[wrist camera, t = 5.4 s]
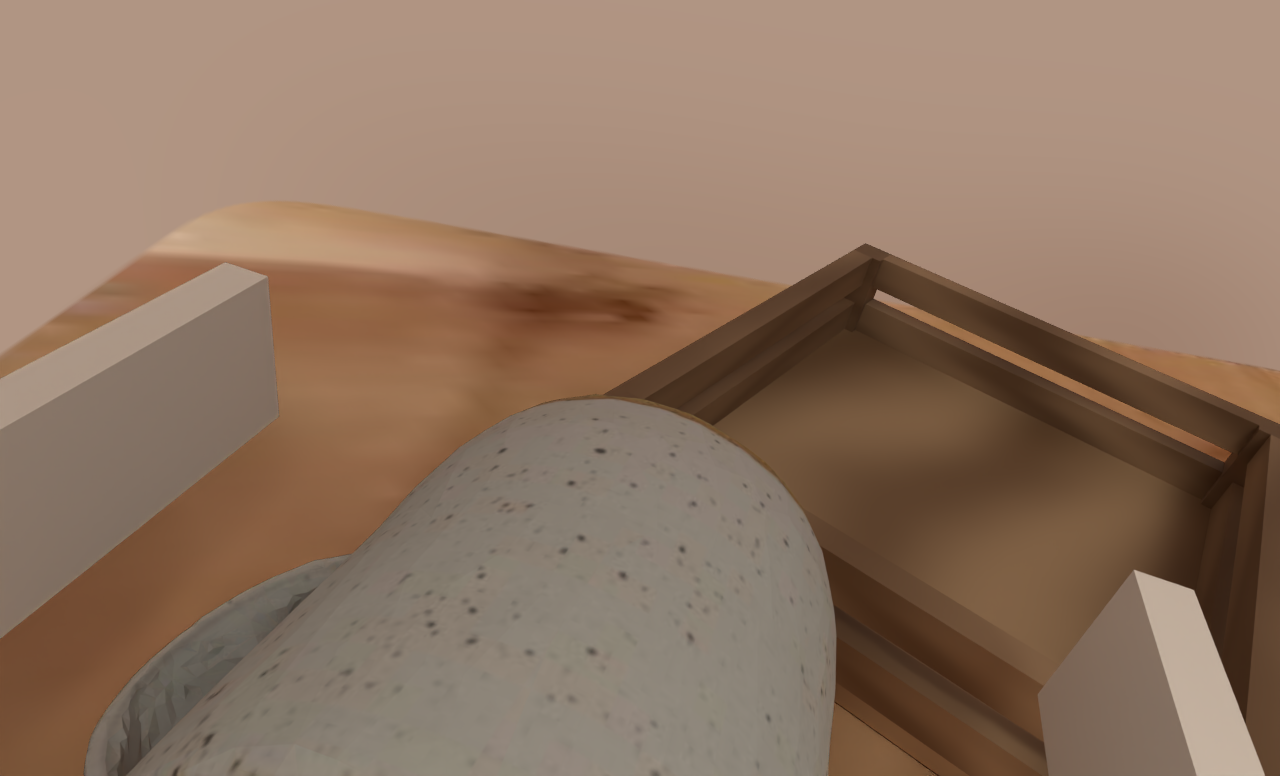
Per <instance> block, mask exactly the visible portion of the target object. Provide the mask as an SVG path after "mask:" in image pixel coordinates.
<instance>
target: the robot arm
mask: <svg viewBox="0 0 1280 776" xmlns="http://www.w3.org/2000/svg"><path fill="white" fill-rule="evenodd" d="M278 417H279V407H278V395H277V382H276V370H275V358H274V345H273V333H272V320H271V308H270V296H269V283H268V276H265V275H262V274H259V273H256V272H253V271H250V270H247V269H244V268H241V267H238V266H235V265H233V264H230V263H227V262H225V263H223V264H221V265H219V266H217V267H215V268H213V269H211V270H209V271H207V272H205V273H203V274H201V275H200V276H198V277H196V278H194V279H192V280H190V281H188V282H186V283H184V284H182V285H180V286H178V287H176V288H174V289H172V290H171V291H169V292H167V293H165V294H163V295H161V296H159V297H157V298H155V299H153V300H151V301H149V302H147V303H145V304H143V305H142V306H140V307H138V308H136V309H134V310H132V311H130V312H128V313H126V314H124V315H122V316H120V317H118V318H116V319H114V320H113V321H111V322H109V323H107V324H105V325H103V326H101V327H99V328H97V329H95V330H93V331H91V332H89V333H87V334H85V335H84V336H82V337H80V338H78V339H76V340H74V341H72V342H70V343H68V344H66V345H64V346H62V347H60V348H58V349H56V350H55V351H53V352H51V353H49V354H47V355H45V356H43V357H41V358H39V359H37V360H35V361H33V362H31V363H29V364H27V365H26V366H24V367H22V368H20V369H18V370H16V371H14V372H12V373H10V374H8V375H6V376H4V377H2V378H0V639H1V638H2V637H3V636H5V635H6V634H7V633H8V632H10V631H11V630H12V629H13V628H15V627H16V626H17V625H18V624H20V623H21V622H22V621H23V620H25V619H26V618H27V617H28V616H30V615H31V614H32V613H33V612H35V611H36V610H37V609H38V608H40V607H41V606H42V605H43V604H45V603H46V602H47V601H48V600H50V599H51V598H52V597H53V596H55V595H56V594H57V593H58V592H60V591H61V590H62V589H63V588H65V587H66V586H67V585H68V584H70V583H71V582H72V581H73V580H75V579H76V578H77V577H78V576H80V575H81V574H82V573H83V572H85V571H86V570H87V569H89V568H90V567H91V566H92V565H94V564H95V563H96V562H97V561H99V560H100V559H101V558H102V557H104V556H105V555H106V554H107V553H109V552H110V551H111V550H112V549H114V548H115V547H116V546H117V545H119V544H120V543H121V542H122V541H124V540H125V539H126V538H127V537H129V536H130V535H131V534H132V533H134V532H135V531H136V530H137V529H139V528H140V527H141V526H142V525H144V524H145V523H146V522H147V521H149V520H150V519H151V518H152V517H154V516H155V515H156V514H157V513H159V512H160V511H161V510H162V509H164V508H165V507H166V506H167V505H169V504H170V503H171V502H173V501H174V500H175V499H176V498H178V497H179V496H180V495H181V494H183V493H184V492H185V491H186V490H188V489H189V488H190V487H191V486H193V485H194V484H195V483H196V482H198V481H199V480H200V479H201V478H203V477H204V476H205V475H206V474H208V473H209V472H210V471H211V470H213V469H214V468H215V467H216V466H218V465H219V464H220V463H221V462H223V461H224V460H225V459H226V458H228V457H229V456H230V455H231V454H233V453H234V452H235V451H236V450H238V449H239V448H240V447H241V446H243V445H244V444H245V443H246V442H248V441H249V440H250V439H251V438H253V437H254V436H255V435H257V434H258V433H259V432H260V431H262V430H263V429H264V428H265V427H267V426H268V425H269V424H270V423H272V422H273V421H274V420H275V419H277V418H278ZM1038 701H1039V708H1040V716H1041V723H1042V730H1043V737H1044V745H1045V752H1046V759H1047V767H1048V774H1049V776H1265V774H1264V771H1263V769H1262V766H1261V764H1260V761H1259V758H1258V756H1257V753H1256V750H1255V748H1254V745H1253V743H1252V740H1251V737H1250V735H1249V732H1248V730H1247V727H1246V724H1245V722H1244V719H1243V717H1242V714H1241V711H1240V709H1239V706H1238V704H1237V701H1236V698H1235V696H1234V693H1233V691H1232V688H1231V685H1230V683H1229V680H1228V678H1227V675H1226V672H1225V670H1224V667H1223V665H1222V662H1221V659H1220V657H1219V654H1218V651H1217V649H1216V646H1215V644H1214V641H1213V638H1212V636H1211V633H1210V631H1209V628H1208V625H1207V623H1206V620H1205V618H1204V615H1203V612H1202V610H1201V607H1200V605H1199V602H1198V599H1197V597H1196V594H1195V592H1194V590H1192V589H1189V588H1186V587H1183V586H1180V585H1178V584H1175V583H1172V582H1169V581H1166V580H1163V579H1160V578H1157V577H1154V576H1151V575H1148V574H1145V573H1142V572H1139V571H1136V570H1133V571H1132V573H1131V574H1130V575H1129V577H1128V578H1127V579H1126V580H1125V582H1124V583H1123V584H1122V586H1121V587H1120V588H1119V589H1118V591H1117V592H1116V593H1115V595H1114V596H1113V597H1112V599H1111V600H1110V601H1109V602H1108V604H1107V605H1106V606H1105V608H1104V609H1103V610H1102V612H1101V613H1100V614H1099V615H1098V617H1097V618H1096V619H1095V621H1094V622H1093V623H1092V624H1091V626H1090V627H1089V628H1088V630H1087V631H1086V632H1085V634H1084V635H1083V636H1082V637H1081V639H1080V640H1079V641H1078V643H1077V644H1076V645H1075V646H1074V648H1073V649H1072V650H1071V652H1070V653H1069V654H1068V656H1067V657H1066V658H1065V659H1064V661H1063V662H1062V663H1061V665H1060V666H1059V667H1058V669H1057V670H1056V671H1055V672H1054V674H1053V675H1052V676H1051V678H1050V679H1049V680H1048V681H1047V683H1046V684H1045V685H1044V687H1043V688H1042V689H1041V691H1040V692H1039V693H1038Z"/></svg>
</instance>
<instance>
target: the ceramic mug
mask: <svg viewBox="0 0 1280 776" xmlns="http://www.w3.org/2000/svg"><path fill="white" fill-rule="evenodd" d="M835 684H836V625H835V614H834V607H833V601H832V596H831V591H830V586H829V580H828V576H827V571H826V566H825V561H824V557H823V552H822V549H821V547H820V545H819V542H818V540H817V538H816V536H815V533H814V531H813V529H812V527H811V524H810V522H809V520H808V518H807V516H806V513H805V511H804V509H803V507H802V506H801V504H800V503H799V501H798V500H797V499H796V497H795V496H794V495H793V493H792V492H791V490H790V489H789V488H788V486H787V485H786V484H785V482H784V481H783V480H782V479H781V478H780V477H779V476H778V475H777V474H776V473H775V471H774V470H773V469H772V468H771V467H770V466H769V465H768V464H767V463H766V462H765V461H764V460H762V459H761V458H760V457H759V456H757V455H756V454H755V453H754V452H752V451H751V450H750V449H749V448H747V447H746V446H744V445H742V444H741V443H739V442H738V441H736V440H735V439H733V438H731V437H730V436H728V435H727V434H725V433H723V432H722V431H720V430H719V429H717V428H716V427H714V426H712V425H711V424H709V423H707V422H705V421H703V420H701V419H699V418H697V417H695V416H693V415H691V414H689V413H686V412H683V411H680V410H677V409H675V408H671V407H668V406H665V405H661V404H658V403H655V402H651V401H648V400H645V399H638V398H627V397H617V396H607V395H597V394H595V395H588V396H581V397H573V398H566V399H559V400H554V401H550V402H545V403H542V404H539V405H537V406H534V407H532V408H529V409H527V410H524V411H522V412H519V413H516V414H514V415H511V416H509V417H508V418H506V419H504V420H502V421H501V422H499V423H497V424H495V425H494V426H492V427H490V428H489V429H487V430H485V431H484V432H482V433H481V434H479V435H477V436H476V437H474V438H473V439H471V440H470V441H468V442H467V443H465V444H464V445H462V446H461V447H459V448H458V449H457V450H456V451H455V452H454V453H453V454H451V455H450V456H449V457H448V458H447V459H446V460H445V461H444V462H443V463H442V464H440V465H439V466H438V467H437V468H436V469H435V470H434V471H433V472H432V473H430V474H429V475H428V476H427V477H426V478H425V479H424V480H423V481H422V482H420V483H419V484H418V485H417V486H416V487H415V488H414V489H413V490H412V491H411V493H410V494H409V495H408V496H407V497H406V498H405V499H404V500H403V501H402V502H401V504H400V505H399V506H398V507H397V508H396V509H395V510H394V511H393V512H392V514H391V515H390V516H389V517H388V518H387V519H386V520H385V521H384V522H383V524H382V525H381V526H380V527H379V528H378V529H377V530H376V531H375V532H374V533H373V534H372V535H371V536H370V537H369V538H368V539H367V540H366V541H365V542H364V543H363V544H362V545H361V546H360V547H359V548H358V549H357V550H356V551H355V552H354V553H353V554H348V555H343V556H338V557H333V558H327V559H321V560H314V561H312V562H309V563H307V564H304V565H302V566H299V567H297V568H294V569H292V570H289V571H287V572H285V573H282V574H280V575H277V576H275V577H272V578H270V579H268V580H266V581H264V582H262V583H260V584H258V585H256V586H254V587H252V588H250V589H248V590H246V591H245V592H243V593H241V594H239V595H237V596H236V597H234V598H232V599H231V600H229V601H227V602H226V603H224V604H223V605H221V606H219V607H218V608H216V609H214V610H213V611H211V612H210V613H208V614H206V615H205V616H203V617H202V618H201V619H199V620H198V621H197V622H196V623H195V624H194V625H192V626H191V627H190V628H188V629H187V630H186V631H184V632H183V633H181V634H180V635H179V636H178V637H176V638H175V639H174V640H173V641H171V642H170V643H169V644H168V645H167V646H165V647H164V648H163V649H162V650H161V651H159V652H158V653H157V654H156V655H155V656H154V657H152V658H151V659H150V660H149V661H148V662H147V663H146V664H145V665H144V666H143V667H142V668H141V669H140V670H139V671H138V672H137V673H136V674H135V675H134V676H133V677H132V678H131V679H130V680H129V682H128V683H127V684H126V685H125V686H124V688H123V689H122V690H121V691H120V692H119V694H118V695H117V696H116V697H115V699H114V700H113V701H112V703H111V704H110V706H109V707H108V708H107V710H106V711H105V712H104V714H103V716H102V717H101V719H100V720H99V722H98V723H97V725H96V727H95V729H94V731H93V733H92V736H91V738H90V741H89V746H88V750H87V755H86V760H85V767H84V776H828V764H829V751H830V738H831V729H832V720H833V711H834V699H835Z"/></svg>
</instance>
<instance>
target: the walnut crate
mask: <svg viewBox="0 0 1280 776" xmlns="http://www.w3.org/2000/svg"><path fill="white" fill-rule="evenodd" d="M877 289H878V290H880V291H882V292H885V293H887V294H889V295H891V296H893V297H895V298H898V299H900V300H902V301H904V302H906V303H908V304H910V305H913V306H915V307H917V308H919V309H921V310H923V311H926V312H928V313H930V314H932V315H934V316H936V317H939V318H941V319H943V320H945V321H947V322H950V323H952V324H954V325H956V326H958V327H960V328H963V329H965V330H967V331H969V332H971V333H973V334H976V335H978V336H980V337H982V338H984V339H986V340H989V341H991V342H993V343H995V344H997V345H999V346H1002V347H1004V348H1006V349H1008V350H1010V351H1013V352H1015V353H1017V354H1019V355H1021V356H1023V357H1026V358H1028V359H1030V360H1032V361H1034V362H1036V363H1039V364H1041V365H1043V366H1045V367H1047V368H1049V369H1052V370H1054V371H1056V372H1058V373H1060V374H1062V375H1065V376H1067V377H1069V378H1071V379H1073V380H1075V381H1078V382H1080V383H1082V384H1084V385H1086V386H1089V387H1091V388H1093V389H1095V390H1097V391H1099V392H1102V393H1104V394H1106V395H1108V396H1110V397H1112V398H1115V399H1117V400H1119V401H1121V402H1123V403H1125V404H1128V405H1130V406H1132V407H1134V408H1136V409H1138V410H1141V411H1143V412H1145V413H1147V414H1149V415H1151V416H1154V417H1156V418H1158V419H1160V420H1162V421H1165V422H1167V423H1169V424H1171V425H1173V426H1175V427H1178V428H1180V429H1182V430H1184V431H1186V432H1188V433H1191V434H1193V435H1195V436H1197V437H1199V438H1201V439H1204V440H1206V441H1208V442H1210V443H1212V444H1214V445H1217V446H1219V447H1221V448H1223V449H1225V450H1228V451H1230V452H1232V454H1231V455H1230V456H1229V458H1228V459H1227V460H1226V461H1225V463H1224V462H1222V461H1220V460H1218V459H1216V458H1213V457H1211V456H1209V455H1207V454H1205V453H1203V452H1201V451H1198V450H1196V449H1194V448H1192V447H1190V446H1188V445H1186V444H1183V443H1181V442H1179V441H1177V440H1175V439H1173V438H1171V437H1168V436H1166V435H1164V434H1162V433H1160V432H1158V431H1156V430H1153V429H1151V428H1149V427H1147V426H1145V425H1143V424H1141V423H1138V422H1136V421H1134V420H1132V419H1130V418H1128V417H1126V416H1123V415H1121V414H1119V413H1117V412H1115V411H1113V410H1111V409H1108V408H1106V407H1104V406H1102V405H1100V404H1098V403H1096V402H1093V401H1091V400H1089V399H1087V398H1085V397H1083V396H1081V395H1078V394H1076V393H1074V392H1072V391H1070V390H1068V389H1066V388H1063V387H1061V386H1059V385H1057V384H1055V383H1053V382H1051V381H1048V380H1046V379H1044V378H1042V377H1040V376H1038V375H1036V374H1033V373H1031V372H1029V371H1027V370H1025V369H1023V368H1021V367H1018V366H1016V365H1014V364H1012V363H1010V362H1008V361H1006V360H1004V359H1001V358H999V357H997V356H995V355H993V354H991V353H989V352H986V351H984V350H982V349H980V348H978V347H976V346H974V345H971V344H969V343H967V342H965V341H963V340H961V339H959V338H956V337H954V336H952V335H950V334H948V333H946V332H944V331H941V330H939V329H937V328H935V327H933V326H931V325H929V324H926V323H924V322H922V321H920V320H918V319H916V318H914V317H911V316H909V315H907V314H905V313H903V312H901V311H899V310H896V309H894V308H892V307H890V306H888V305H886V304H884V303H881V302H879V301H877V300H875V299H873V298H874V295H875V293H876V290H877ZM604 395H607V396H617V397H627V398H638V399H645V400H648V401H651V402H655V403H658V404H661V405H665V406H668V407H671V408H675V409H677V410H680V411H683V412H686V413H689V414H691V415H693V416H695V417H697V418H699V419H701V420H703V421H705V422H707V423H709V424H711V425H712V426H714V427H716V428H717V429H719V430H720V431H722V432H723V433H725V434H727V435H728V436H730V437H731V438H733V439H735V440H736V441H738V442H739V443H741V444H742V445H744V446H746V447H747V448H749V449H750V450H751V451H752V452H754V453H755V454H756V455H757V456H759V457H760V458H761V459H762V460H764V461H765V462H766V463H767V464H768V465H769V466H770V467H771V468H772V469H773V470H774V471H775V473H776V474H777V475H778V476H779V477H780V478H781V479H782V480H783V481H784V482H785V484H786V485H787V486H788V488H789V489H790V490H791V492H792V493H793V495H794V496H795V497H796V499H797V500H798V501H799V503H800V504H801V506H802V507H803V509H804V511H805V513H806V516H807V518H808V520H809V522H810V524H811V527H812V529H813V531H814V533H815V536H816V538H817V540H818V542H819V545H820V547H821V549H822V552H823V557H824V561H825V566H826V571H827V576H828V580H829V586H830V591H831V596H832V601H833V607H834V614H835V625H836V684H835V699H834V701H835V702H836V703H838V704H839V705H841V706H842V707H843V708H845V709H846V710H848V711H849V712H850V713H852V714H853V715H855V716H856V717H857V718H859V719H860V720H862V721H863V722H864V723H866V724H867V725H869V726H870V727H871V728H873V729H874V730H876V731H877V732H878V733H880V734H881V735H883V736H884V737H885V738H887V739H888V740H890V741H891V742H892V743H894V744H895V745H897V746H898V747H899V748H901V749H902V750H904V751H905V752H906V753H908V754H909V755H911V756H912V757H913V758H915V759H916V760H918V761H919V762H920V763H922V764H923V765H925V766H926V767H927V768H929V769H930V770H932V771H933V772H934V773H936V774H937V775H939V776H1049V774H1048V767H1047V759H1046V752H1045V745H1044V737H1043V730H1042V723H1041V716H1040V708H1039V701H1038V693H1039V692H1040V691H1041V689H1042V688H1043V687H1044V685H1045V684H1046V683H1047V681H1048V680H1049V679H1050V678H1051V676H1052V675H1053V674H1054V672H1055V671H1056V670H1057V669H1058V667H1059V666H1060V665H1061V663H1062V662H1063V661H1064V659H1065V658H1066V657H1067V656H1068V654H1069V653H1070V652H1071V650H1072V649H1073V648H1074V646H1075V645H1076V644H1077V643H1078V641H1079V640H1080V639H1081V637H1082V636H1083V635H1084V634H1085V632H1086V631H1087V630H1088V628H1089V627H1090V626H1091V624H1092V623H1093V622H1094V621H1095V619H1096V618H1097V617H1098V615H1099V614H1100V613H1101V612H1102V610H1103V609H1104V608H1105V606H1106V605H1107V604H1108V602H1109V601H1110V600H1111V599H1112V597H1113V596H1114V595H1115V593H1116V592H1117V591H1118V589H1119V588H1120V587H1121V586H1122V584H1123V583H1124V582H1125V580H1126V579H1127V578H1128V577H1129V575H1130V574H1131V573H1132V571H1133V570H1136V571H1139V572H1142V573H1145V574H1148V575H1151V576H1154V577H1157V578H1160V579H1163V580H1166V581H1169V582H1172V583H1175V584H1178V585H1180V586H1183V587H1186V588H1189V589H1192V590H1194V592H1195V594H1196V597H1197V599H1198V602H1199V605H1200V607H1201V610H1202V612H1203V615H1204V618H1205V620H1206V623H1207V625H1208V628H1209V631H1210V633H1211V636H1212V638H1213V641H1214V644H1215V646H1216V649H1217V651H1218V654H1219V657H1220V659H1221V662H1222V665H1223V667H1224V670H1225V672H1226V675H1227V678H1228V680H1229V683H1230V685H1231V688H1232V691H1233V693H1234V696H1235V698H1236V701H1237V704H1238V706H1239V709H1240V711H1241V714H1242V717H1243V719H1244V722H1245V724H1246V727H1247V730H1248V732H1249V735H1250V737H1251V740H1252V743H1253V745H1254V748H1255V750H1256V753H1257V756H1258V758H1259V761H1260V764H1261V766H1262V769H1263V771H1264V774H1265V776H1280V424H1278V423H1275V422H1273V421H1271V420H1269V419H1266V418H1264V417H1262V416H1259V415H1257V414H1255V413H1253V412H1250V411H1248V410H1246V409H1243V408H1241V407H1239V406H1237V405H1234V404H1232V403H1230V402H1227V401H1225V400H1223V399H1221V398H1218V397H1216V396H1214V395H1211V394H1209V393H1207V392H1204V391H1202V390H1200V389H1198V388H1195V387H1193V386H1191V385H1188V384H1186V383H1184V382H1182V381H1179V380H1177V379H1175V378H1172V377H1170V376H1168V375H1166V374H1163V373H1161V372H1159V371H1156V370H1154V369H1152V368H1150V367H1147V366H1145V365H1143V364H1140V363H1138V362H1136V361H1134V360H1131V359H1129V358H1127V357H1124V356H1122V355H1120V354H1118V353H1115V352H1113V351H1111V350H1108V349H1106V348H1104V347H1102V346H1099V345H1097V344H1095V343H1092V342H1090V341H1088V340H1086V339H1083V338H1081V337H1079V336H1076V335H1074V334H1072V333H1070V332H1067V331H1065V330H1063V329H1060V328H1058V327H1056V326H1053V325H1051V324H1049V323H1047V322H1044V321H1042V320H1040V319H1038V318H1035V317H1033V316H1030V315H1028V314H1026V313H1024V312H1021V311H1019V310H1017V309H1015V308H1012V307H1010V306H1007V305H1005V304H1003V303H1001V302H999V301H996V300H994V299H992V298H989V297H987V296H985V295H983V294H980V293H978V292H976V291H973V290H971V289H969V288H967V287H964V286H962V285H959V284H957V283H955V282H953V281H950V280H948V279H946V278H943V277H941V276H939V275H937V274H934V273H932V272H930V271H927V270H925V269H923V268H921V267H918V266H916V265H914V264H912V263H909V262H907V261H905V260H902V259H900V258H898V257H895V256H893V255H891V254H889V253H886V252H884V251H882V250H880V249H877V248H875V247H873V246H871V245H868V244H864V245H862V246H860V247H858V248H857V249H855V250H853V251H851V252H850V253H848V254H846V255H845V256H843V257H841V258H839V259H838V260H836V261H834V262H832V263H831V264H829V265H827V266H826V267H824V268H822V269H820V270H819V271H817V272H815V273H814V274H812V275H810V276H808V277H806V278H805V279H803V280H801V281H799V282H798V283H796V284H794V285H793V286H791V287H789V288H787V289H786V290H784V291H782V292H780V293H779V294H777V295H775V296H773V297H772V298H770V299H768V300H767V301H765V302H763V303H761V304H760V305H758V306H756V307H754V308H753V309H751V310H749V311H747V312H746V313H744V314H742V315H741V316H739V317H737V318H735V319H734V320H732V321H730V322H728V323H727V324H725V325H723V326H721V327H720V328H718V329H716V330H715V331H713V332H711V333H709V334H708V335H706V336H704V337H702V338H701V339H699V340H697V341H696V342H694V343H692V344H690V345H689V346H687V347H685V348H683V349H682V350H680V351H678V352H676V353H675V354H673V355H671V356H670V357H668V358H666V359H664V360H663V361H661V362H659V363H657V364H656V365H654V366H652V367H650V368H649V369H647V370H645V371H644V372H642V373H640V374H638V375H637V376H635V377H633V378H631V379H630V380H628V381H626V382H624V383H623V384H621V385H619V386H618V387H616V388H614V389H612V390H611V391H609V392H607V393H605V394H604Z"/></svg>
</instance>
